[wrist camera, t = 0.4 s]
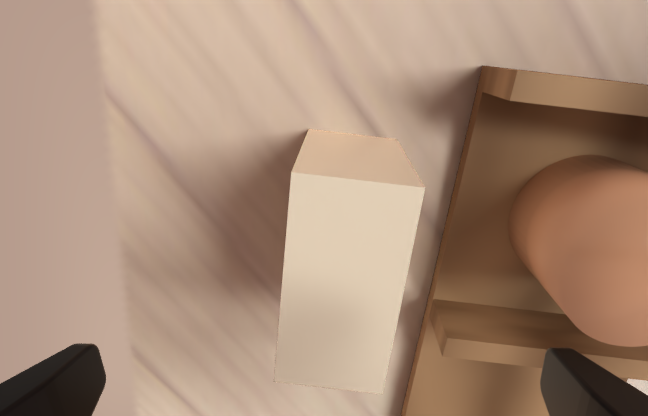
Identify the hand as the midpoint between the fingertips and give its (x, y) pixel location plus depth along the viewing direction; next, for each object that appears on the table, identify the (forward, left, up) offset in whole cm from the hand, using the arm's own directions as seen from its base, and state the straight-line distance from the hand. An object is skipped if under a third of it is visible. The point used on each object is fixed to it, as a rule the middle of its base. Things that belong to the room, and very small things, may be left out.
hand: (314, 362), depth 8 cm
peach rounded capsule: (-11, 0, -11) cm, 16 cm away
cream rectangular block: (-1, +2, -12) cm, 12 cm away
